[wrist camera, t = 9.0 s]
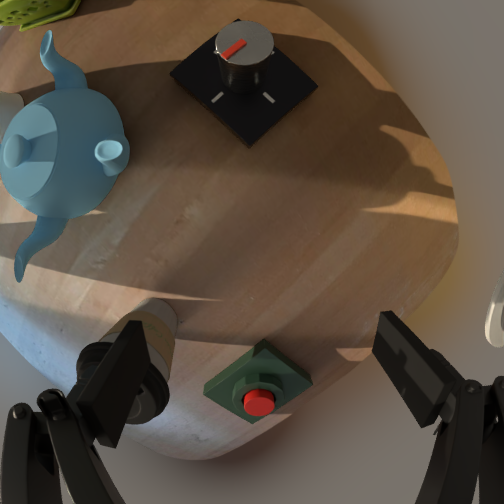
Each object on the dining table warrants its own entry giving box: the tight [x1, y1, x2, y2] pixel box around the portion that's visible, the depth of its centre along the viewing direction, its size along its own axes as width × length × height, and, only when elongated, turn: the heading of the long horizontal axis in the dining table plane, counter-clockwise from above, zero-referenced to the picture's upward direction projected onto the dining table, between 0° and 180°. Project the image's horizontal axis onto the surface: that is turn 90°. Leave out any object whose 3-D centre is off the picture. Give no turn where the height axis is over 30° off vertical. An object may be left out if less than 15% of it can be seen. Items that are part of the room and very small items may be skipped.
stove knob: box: [215, 21, 274, 94], centre depth 20 cm, size 4×4×8 cm
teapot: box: [0, 30, 130, 283], centre depth 22 cm, size 17×19×12 cm
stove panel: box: [169, 19, 318, 149], centre depth 25 cm, size 12×10×3 cm
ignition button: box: [244, 389, 275, 416], centre depth 33 cm, size 4×4×2 cm
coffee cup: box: [76, 298, 177, 424], centre depth 27 cm, size 9×9×15 cm
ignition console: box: [203, 339, 313, 424], centre depth 36 cm, size 10×12×4 cm
